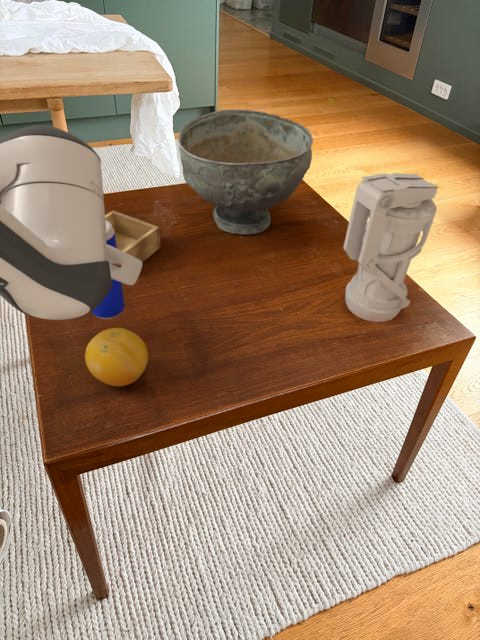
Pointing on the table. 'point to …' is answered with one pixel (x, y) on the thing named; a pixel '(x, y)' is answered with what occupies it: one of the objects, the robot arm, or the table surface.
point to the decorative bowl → (244, 164)
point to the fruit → (116, 356)
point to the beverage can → (114, 298)
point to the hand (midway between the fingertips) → (103, 260)
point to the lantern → (386, 241)
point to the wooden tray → (134, 235)
